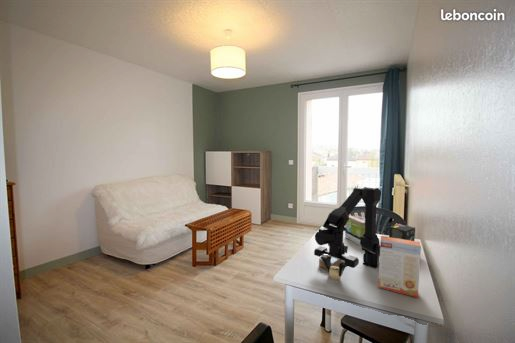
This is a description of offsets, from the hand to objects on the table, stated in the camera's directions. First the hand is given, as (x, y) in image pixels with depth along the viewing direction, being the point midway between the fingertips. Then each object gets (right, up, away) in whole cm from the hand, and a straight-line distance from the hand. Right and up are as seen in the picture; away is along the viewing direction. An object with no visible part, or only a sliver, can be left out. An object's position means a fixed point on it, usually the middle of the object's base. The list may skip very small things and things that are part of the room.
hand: (334, 274), depth 107 cm
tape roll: (0, -1, 0) cm, 1 cm away
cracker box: (+23, -3, -9) cm, 25 cm away
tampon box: (+48, 0, +29) cm, 56 cm away
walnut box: (+2, 0, +12) cm, 12 cm away
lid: (+2, +3, +11) cm, 12 cm away
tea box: (+30, +2, +46) cm, 55 cm away
